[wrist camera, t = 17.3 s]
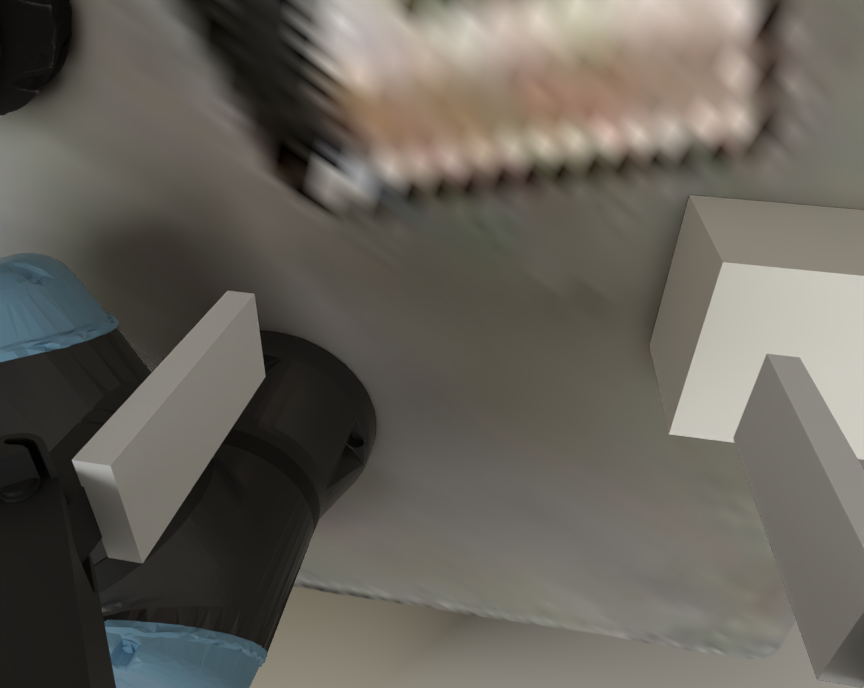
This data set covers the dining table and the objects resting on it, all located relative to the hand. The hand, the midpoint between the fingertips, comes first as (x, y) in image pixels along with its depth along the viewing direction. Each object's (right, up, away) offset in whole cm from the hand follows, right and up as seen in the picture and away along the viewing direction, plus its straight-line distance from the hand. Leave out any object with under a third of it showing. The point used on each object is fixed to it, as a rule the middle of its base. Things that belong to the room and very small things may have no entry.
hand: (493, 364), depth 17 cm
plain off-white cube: (+18, +4, +21) cm, 28 cm away
